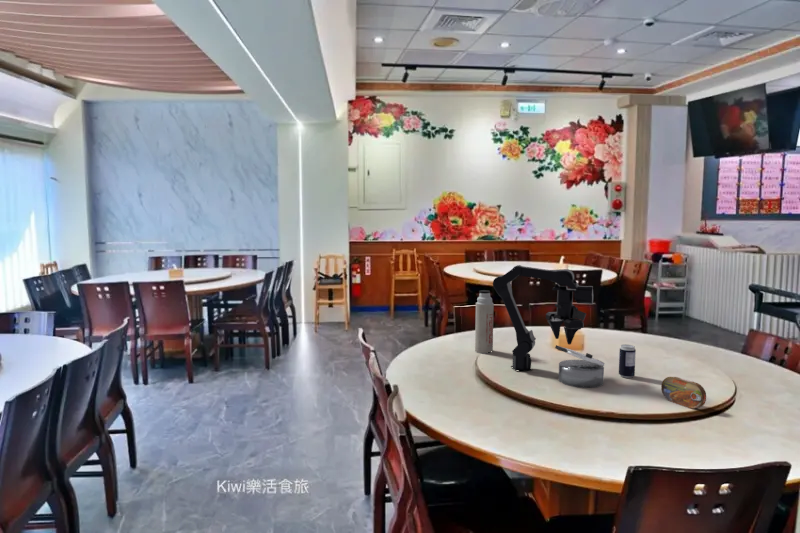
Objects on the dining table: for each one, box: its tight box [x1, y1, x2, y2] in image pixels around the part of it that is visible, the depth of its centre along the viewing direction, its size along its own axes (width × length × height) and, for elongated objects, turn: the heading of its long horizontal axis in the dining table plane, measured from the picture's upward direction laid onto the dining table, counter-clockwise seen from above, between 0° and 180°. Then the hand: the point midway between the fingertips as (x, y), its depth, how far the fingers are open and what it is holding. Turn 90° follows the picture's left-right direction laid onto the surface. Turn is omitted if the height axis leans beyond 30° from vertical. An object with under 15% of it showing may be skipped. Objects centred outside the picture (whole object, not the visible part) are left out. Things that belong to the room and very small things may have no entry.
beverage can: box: [618, 344, 637, 379], centre depth 209 cm, size 6×6×12 cm
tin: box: [660, 376, 707, 410], centre depth 179 cm, size 15×3×8 cm, turn 25°
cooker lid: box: [554, 344, 605, 367], centre depth 202 cm, size 19×16×2 cm
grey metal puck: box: [558, 359, 605, 389], centre depth 203 cm, size 16×16×6 cm
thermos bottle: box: [474, 289, 494, 354], centre depth 246 cm, size 8×8×28 cm
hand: (563, 341), depth 211 cm, fingers open, 9 cm apart
